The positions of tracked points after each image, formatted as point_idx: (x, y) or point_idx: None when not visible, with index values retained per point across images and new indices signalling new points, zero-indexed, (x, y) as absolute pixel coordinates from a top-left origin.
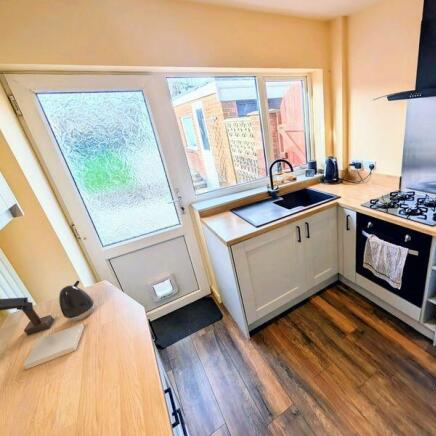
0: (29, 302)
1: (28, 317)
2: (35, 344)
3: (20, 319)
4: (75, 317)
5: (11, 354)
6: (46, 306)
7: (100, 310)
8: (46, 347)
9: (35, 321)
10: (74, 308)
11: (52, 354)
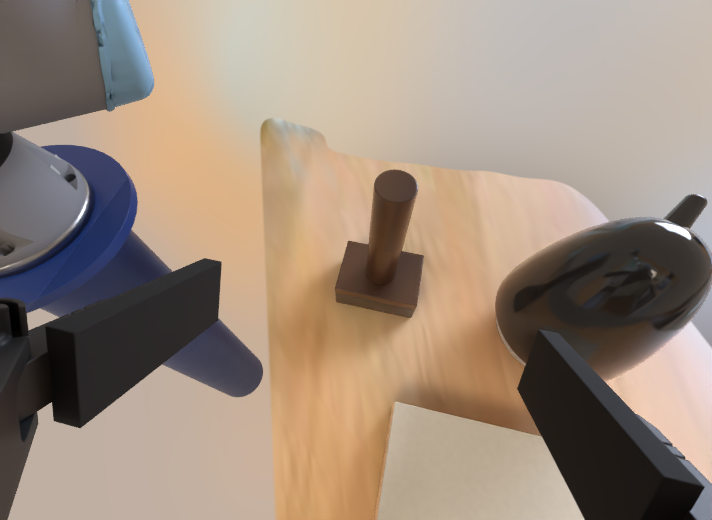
0: (576, 356)
1: (373, 256)
2: (392, 443)
3: (302, 176)
4: None
5: (289, 389)
6: (375, 163)
7: None
8: None
9: (383, 277)
10: (609, 370)
11: None
